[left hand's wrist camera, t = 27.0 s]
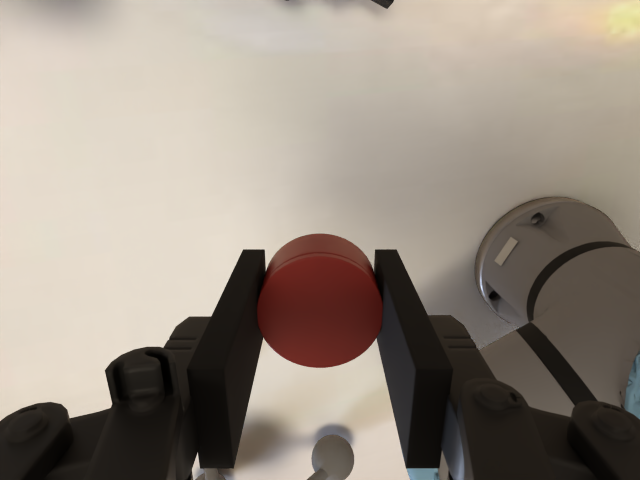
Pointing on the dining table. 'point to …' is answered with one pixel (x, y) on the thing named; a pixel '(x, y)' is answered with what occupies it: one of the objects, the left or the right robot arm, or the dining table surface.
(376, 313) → the cap
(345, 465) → the molecular model
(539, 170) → the dining table surface
